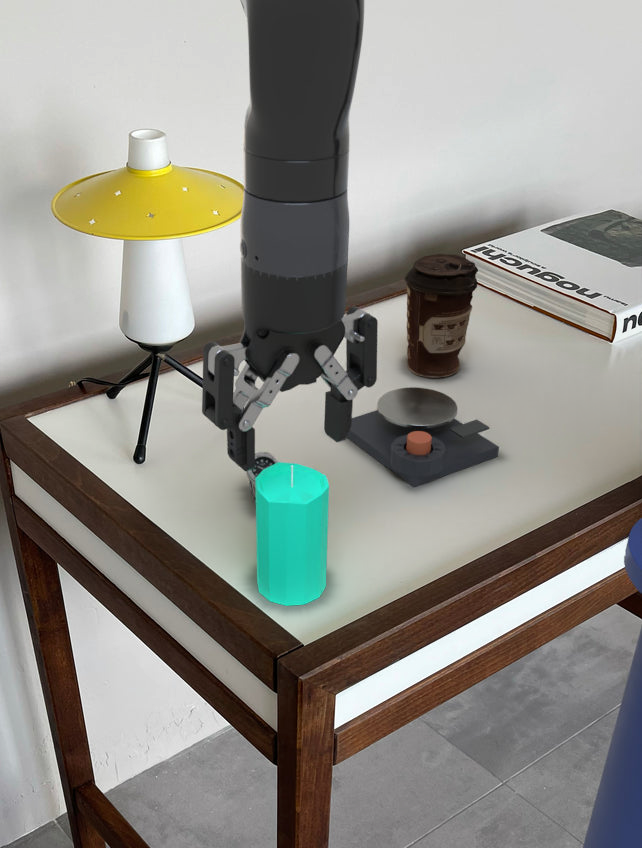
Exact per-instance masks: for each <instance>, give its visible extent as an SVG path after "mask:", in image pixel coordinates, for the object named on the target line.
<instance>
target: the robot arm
mask: <svg viewBox="0 0 642 848" xmlns="http://www.w3.org/2000/svg"><path fill="white" fill-rule="evenodd" d="M240 5H241V8H242V10H243V12H244V15H245V17H246V23H247V25H246V26H247V39H248V43H247V44H248V69H249V70H248V72H249V73H248V74H249V76H248V78H249V80H248V81H249V104H248V106H247V109H246V111H245V116H244V122H243V123H244V124H243V136H242V137H243V140H242V141H243V143H242V146H243V148H242V149H243V196H242V205H241V213H240V243H239V251H240V286H241V287H240V291H241V292H240V293H241V295H240V296H241V297H240V299H241V300H240V301H241V314H242V319H243V325H244V328H243V332H242V336H241V337H240V340H239V342H238V343H233V344H228V345H222V346H221V345H219V344H218V343H217V342H215V341H209V342H207V343H206V344H205V345H204V347H203V351H202V352H203V353H202V390H201V391H202V393H201V394H202V397H201V398H202V399H201V404H202V405H201V413H202V415H203V416H204V417H206V419H208V420H209V421H210V422H211V423H212V424H213V425H215V426H216V427H217V428H218V429H219V430H221V431H226V441H227V442H226V446H227V448H226V449H227V455H228V457H229V459H230V460H231V461H232V462H234V463H235V464H236V466H238V467H239V468H241V469H242V470H243V471H244V472H246V471H248V470H252V469H254V468H255V453H256V428H255V427H253V426H254V424H255V423H256V421H257V419H258V418H259V416H260V414H261V413H262V411H263V409H265V408H269V407H270V406H271V405H272V403H273V401H274V400H275V398H276V396H277V395H278V394H279V392H281V393H283V392H288V391H290V390H293V389H295V388H297V387H298V386H301V385H303V386H304V385H312V384H315V383H317V380H318V379H319V378H321V379H322V381H324V383H325V384H326V386H328V387H329V388H330V389H329V390H328V391H325V394H324V395H325V398H324V399H325V400H324V424H323V429H324V430H323V431H324V433H325V434H326V436H327V437H328V438H330V439H332V440H333V441H334V442H336V443H340V442H344V441H346V440H347V439H348V438H347V432H349V431H350V428H351V423H352V420H351V419H352V418H353V401H354V399H355V398H356V397H357V395H358V392H359V391H360V390H361V389H362V388H364V387H365V388H372V387H373V386H374V385H375V384H376V382H377V378H378V327H379V326H378V319H377V318H376V317H375V316H373V315H371V314H370V313H368V312H367V311H365V310H364V309H361V308H359V307H358V306H355V305H354V306H351V307H349V308H348V309H347V311H346V305H347V288H348V287H347V285H348V284H347V283H348V266H349V265H348V264H349V243H350V210H349V208H350V207H349V198H348V193H349V192H348V190H349V189H348V186H349V166H350V140H351V139H350V136H351V135H350V113H351V109H352V102H353V99H354V93H355V88H356V83H357V75H358V70H359V64H360V58H361V51H362V44H363V35H364V23H365V0H240ZM345 313H346V314H345ZM344 338H345V339H346V342H345V345H346V346H345V347H346V349H345V351H346V352H345V354H346V356H345V357H346V361H345V362H346V363H345V365H346V367H345V368H346V370H345V369H344V368H343V366H342V365H341V364H340V363H339V361H338V360H337V359H336V357H335V356H334V355H335V354H336V352H337V350H338V348H340V345H341V344H342V342H343V340H344ZM243 361H244V362H245V365H244V366H243V368H242V369H241V372H240V370H239V368H240V365H241V364H242V362H243ZM235 377H237V378H236V380H235ZM258 378H259V379H260V380H261V381H262V382H263V384H262V385H261V387H260V388H258V387H257V386H256V381H257V379H258ZM234 386H235V389H234Z"/></svg>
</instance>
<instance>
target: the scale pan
mask: <svg viewBox="0 0 642 848" xmlns="http://www.w3.org/2000/svg"><path fill="white" fill-rule="evenodd" d="M376 410H378V412H379V414H380V415H381V416H382V417H383V418H384V419H386V420H387V421H389V422H391V423H393V424H396V425H399V426H403V427H408V428H419V429H424V428H434V427H439V426H442V425H445V424H447V423H449V422H451V421H452V420H453V419H456V417H457V415H458V410H459V409H458V404H457V403H456V401H455V400H454V399H453V398H452V397H451V396H449V395H448V394H446V393H444V392H441V391H438V390H436V389H431V388H425V387H400V388H397V389H392V390H389V391H388V392H385V393H384V394H382V395H381V396H380V397H379V398H378V400H377V403H376ZM490 429H491V428H490V426H488V425H487V424H485V423H483V422H482V421H481V420H479V419H478V418H477V419H474V420H470V421H468V422H465V423H462V425H459V426H456V427H453V428H450V431H452V432H453V433H455V434H456V435H458V436H459V437H461V438H465V437H468V436H471V435H474V434H477V433H478V434H481V433H482V432H485V431H487V430H490Z"/></svg>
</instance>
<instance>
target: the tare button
mask: <svg viewBox="0 0 642 848" xmlns="http://www.w3.org/2000/svg"><path fill="white" fill-rule="evenodd" d="M431 440H432V437H431V435H430V434H428V433H426V432H423V431H414V432H411V433H409V434H408V436H407V445H406V450H407V452H408V453H410V454H414V455H426V454H429V453H430V451H431Z"/></svg>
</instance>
